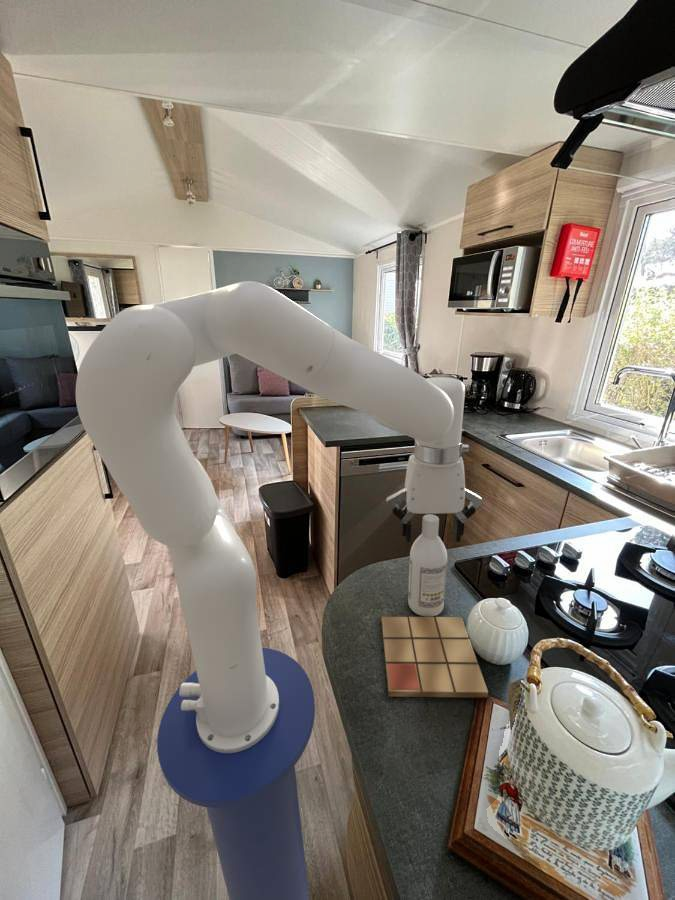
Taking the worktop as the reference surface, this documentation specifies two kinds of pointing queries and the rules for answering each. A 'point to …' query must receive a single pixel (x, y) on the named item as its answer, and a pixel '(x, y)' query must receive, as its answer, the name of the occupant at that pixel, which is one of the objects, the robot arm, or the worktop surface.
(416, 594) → the bath foam
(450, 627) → the grid board
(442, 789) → the worktop surface
